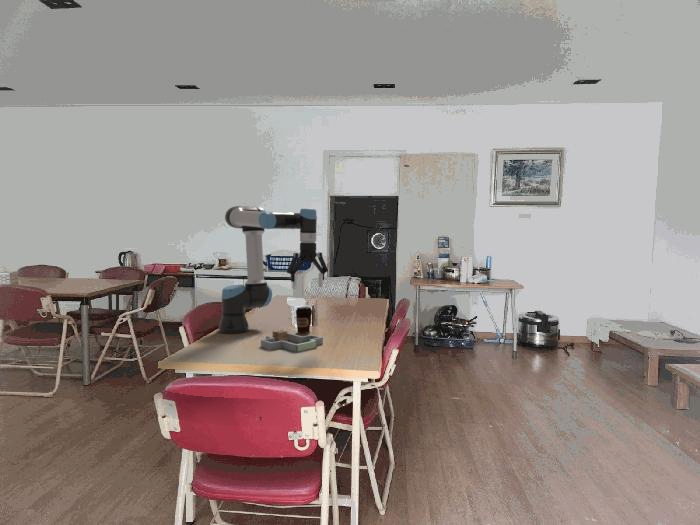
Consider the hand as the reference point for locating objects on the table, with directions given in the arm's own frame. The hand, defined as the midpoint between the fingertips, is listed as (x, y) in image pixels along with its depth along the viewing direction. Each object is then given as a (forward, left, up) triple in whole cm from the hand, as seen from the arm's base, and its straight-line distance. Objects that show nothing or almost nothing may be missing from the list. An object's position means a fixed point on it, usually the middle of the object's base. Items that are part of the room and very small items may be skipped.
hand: (307, 288), depth 222 cm
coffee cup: (-18, +12, -26) cm, 34 cm away
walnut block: (-11, -8, -26) cm, 29 cm away
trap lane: (-3, -8, -26) cm, 27 cm away
